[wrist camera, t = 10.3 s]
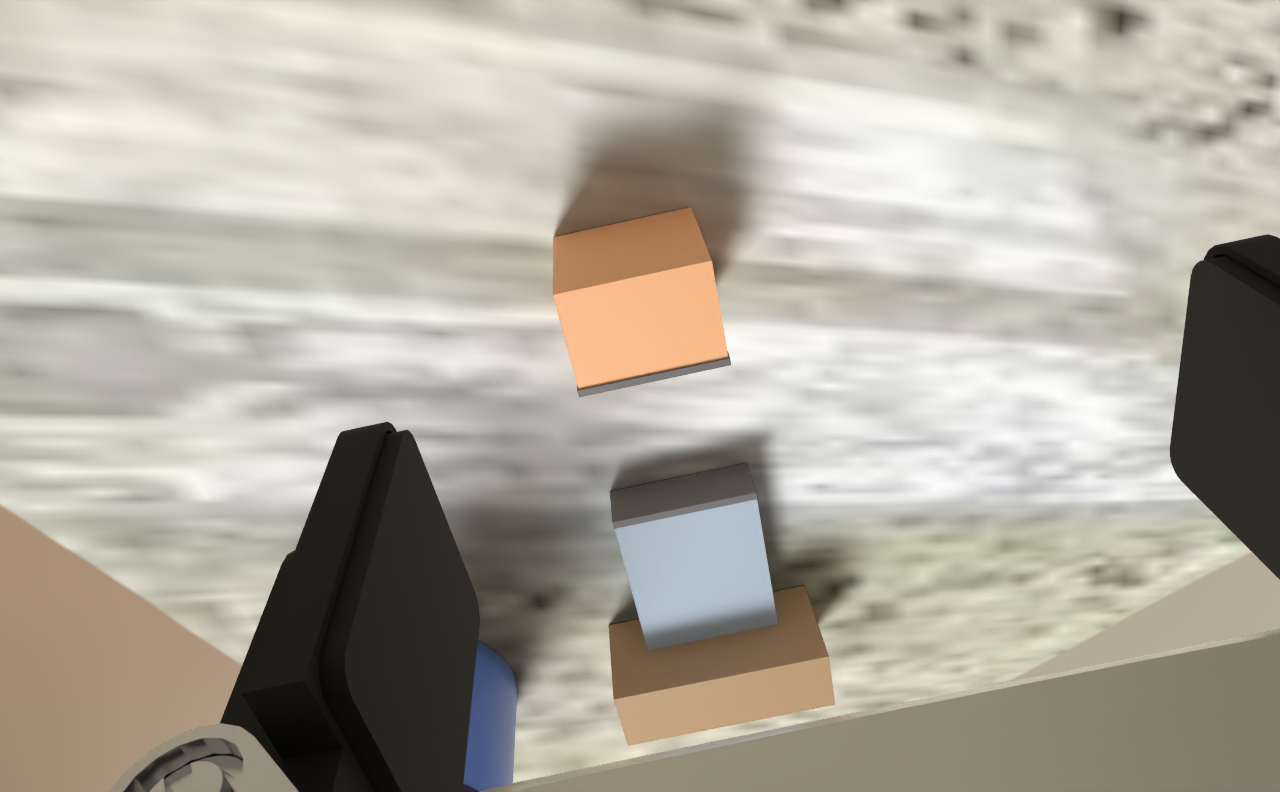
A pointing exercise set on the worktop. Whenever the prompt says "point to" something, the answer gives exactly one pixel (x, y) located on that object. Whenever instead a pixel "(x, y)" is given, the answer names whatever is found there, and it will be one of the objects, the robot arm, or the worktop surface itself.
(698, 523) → the tan blue stepped block
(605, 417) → the worktop surface
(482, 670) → the water bottle
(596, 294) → the stub
